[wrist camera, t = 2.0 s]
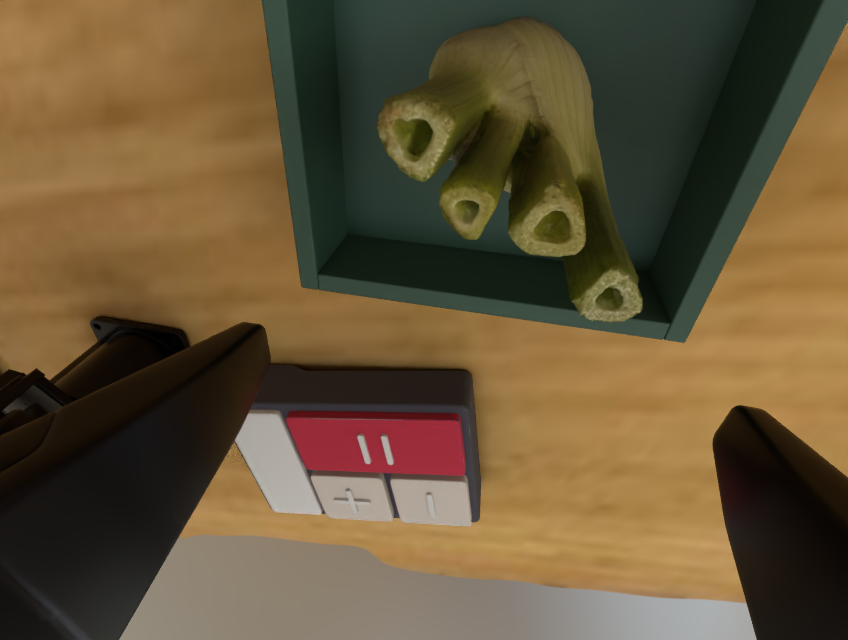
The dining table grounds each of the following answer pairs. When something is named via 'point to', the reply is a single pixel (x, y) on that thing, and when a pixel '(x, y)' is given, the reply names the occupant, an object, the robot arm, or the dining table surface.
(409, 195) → the tote
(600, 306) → the fennel bulb
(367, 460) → the calculator
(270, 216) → the dining table surface
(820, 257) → the dining table surface
